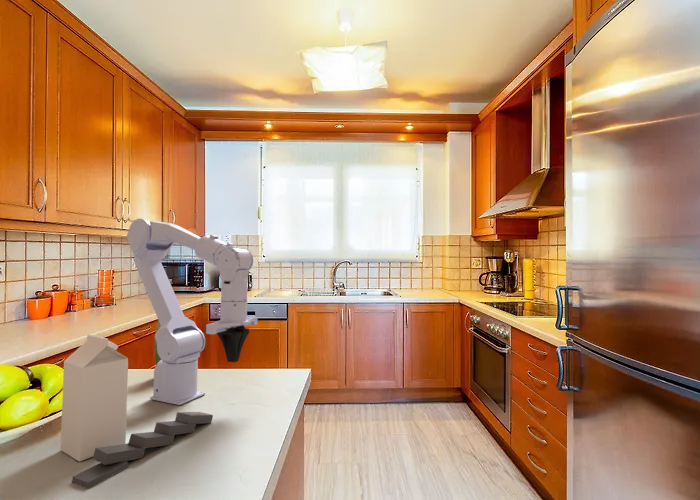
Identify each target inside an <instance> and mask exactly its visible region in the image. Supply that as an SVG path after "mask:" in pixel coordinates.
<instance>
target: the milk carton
mask: <svg viewBox="0 0 700 500" xmlns="http://www.w3.org/2000/svg"><path fill="white" fill-rule="evenodd" d="M86 336H87V337H86V341H84V343H82V344H81V345H80V346H79V347H78V348H77V349H76V350H74V352H72V353H71V354H70V355H69V356H68V357H67V358H66V359H65V360H63V376H62V377H63V379H62V399H61V400H62V402H61V403H62V405H61V433H60V450H61V451H62V452H64V453H65V454H66V455H68V456H69V457H71V458H72V459H75V460H76V461H78V462H82V461H85V460H88V459H90V458H93V455H94V452H95V448H100V447H107V446H114V445H121V444H126V441H127V440H126V438H127V437H126V435H127V434H126V433H127V408H128V407H127V406H128V404H127V402H128V375H129V358H128V357H127V356H125V355H123V354H122V353H121V352H119V351H117V349H119V346H118V345H117V344H116V343H114V342H113V341H110V340H109V338H105V337H102V336H97V335H94V334H87V335H86Z"/></svg>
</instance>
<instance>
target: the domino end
mask: <svg viewBox="0 0 700 500" xmlns="http://www.w3.org/2000/svg"><path fill="white" fill-rule="evenodd" d="M128 468H129V462H128V461H123V462H117V463H112V464H107V465H104V464H102V463H100V462H98V463H97V464H95V465H94V466H91V467H89V468H87V469H85V470H82V471H81V472H78V473H76V474H74V475H73V476H71V483H72V484H74V485H77V486H79V487H82V488H85V489H90V488H92V487H94V486H96V485H98V484H99V483H102V482H103V481H106V480H107V479H109V478H111V477H113V476H115V475H117V474H119V473H120V472H122V471H124V470H126V469H128Z"/></svg>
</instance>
